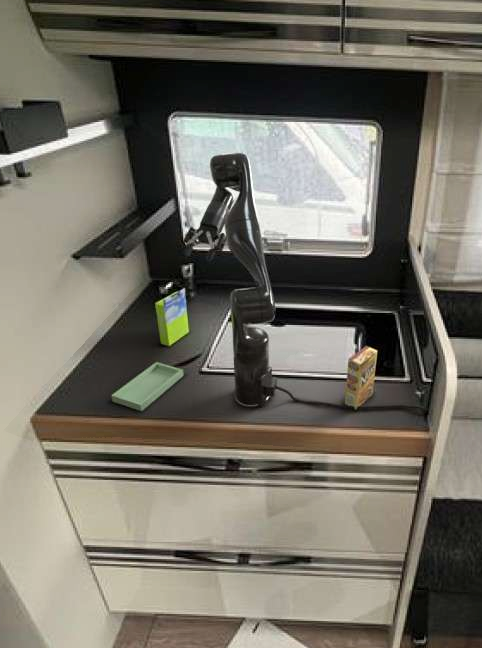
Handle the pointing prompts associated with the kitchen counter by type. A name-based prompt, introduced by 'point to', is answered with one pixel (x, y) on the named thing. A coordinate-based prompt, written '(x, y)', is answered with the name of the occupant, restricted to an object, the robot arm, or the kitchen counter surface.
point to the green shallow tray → (147, 386)
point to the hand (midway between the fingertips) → (197, 258)
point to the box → (172, 317)
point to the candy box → (360, 377)
